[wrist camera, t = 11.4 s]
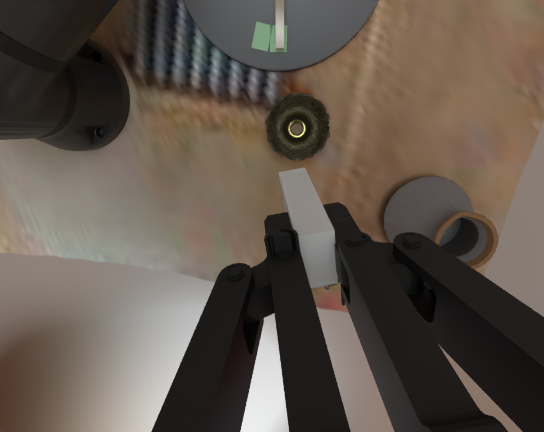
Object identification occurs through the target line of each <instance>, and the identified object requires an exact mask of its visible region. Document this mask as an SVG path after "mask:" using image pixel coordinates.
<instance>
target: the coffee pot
mask: <svg viewBox="0 0 544 432" xmlns="http://www.w3.org/2000/svg"><path fill="white" fill-rule="evenodd" d="M384 230H385V232H386V235H387V238H388V240H389V241H390V242H391V243H393V239H394V238H395V236H397V235H399V234H401V233H405V232H414V233H419V234H422V235H424V236H426V237H428V238H429V239H431V240H432V241H433V242H435V243H436V244H438V245H439V246H441V247H442V248H444V249H445V250H447V251H448V252H449V253H451V254H452V255H454V256H455V257H457V258H458V259H460V260H461V261H463V262H464V263H465V264H467V265H468V266H470V267H471V268H473V269H476V268H479V267H480V266H482V265H483V264H485V263H486V262H487V261H488V260H489V259H490V258H491V257H492V256H493V254H494V252H495V251H496V248H497V245H498V234H497V230H496V228H495V226H494V225H493V223H492V222H491V221H490V220H489V219H487V218H486V217H485V216H482V215H480V214H477V213H474V211H473V208H472V205H471V202H470V199H469V197H468V196H467V194H466V193H465V191H464V190H463V189H462V188H461V187H460V186H459V185H457V184H456V183H455V182H453V181H451V180H448V179H446V178H443V177H435V176H429V177H421V178H417V179H415V180H412V181H410V182H408V183H406V184H405V185H403V186H402V187H400V188H399V189H398V190H397V191H396V192H395V193H394V195H393V196H392V197H391V198H390V200H389V202H388V204H387V206H386V209H385V213H384ZM339 282H340V280H339V277H338V283H339ZM332 285H336V284H332ZM332 285H327V286H328V288H327V287H326V286H324V288H325V289H326V290H329V289H330V286H332Z"/></svg>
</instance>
